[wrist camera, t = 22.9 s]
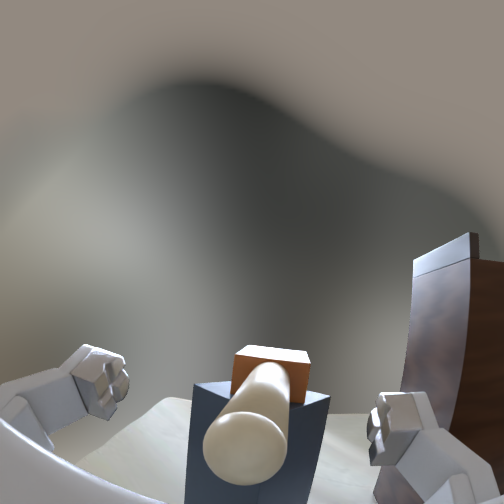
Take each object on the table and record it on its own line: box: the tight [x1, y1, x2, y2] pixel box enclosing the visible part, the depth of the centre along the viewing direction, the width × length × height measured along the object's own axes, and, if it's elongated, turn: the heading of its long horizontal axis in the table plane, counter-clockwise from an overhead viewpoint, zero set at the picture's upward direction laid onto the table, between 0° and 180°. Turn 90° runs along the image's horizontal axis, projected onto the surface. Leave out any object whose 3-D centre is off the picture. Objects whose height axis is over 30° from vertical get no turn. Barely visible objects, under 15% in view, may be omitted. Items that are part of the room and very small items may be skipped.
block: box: [184, 381, 331, 504], centre depth 21 cm, size 8×8×14 cm
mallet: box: [203, 345, 311, 485], centre depth 18 cm, size 21×6×3 cm, turn 173°
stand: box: [373, 232, 504, 504], centre depth 21 cm, size 12×12×28 cm
